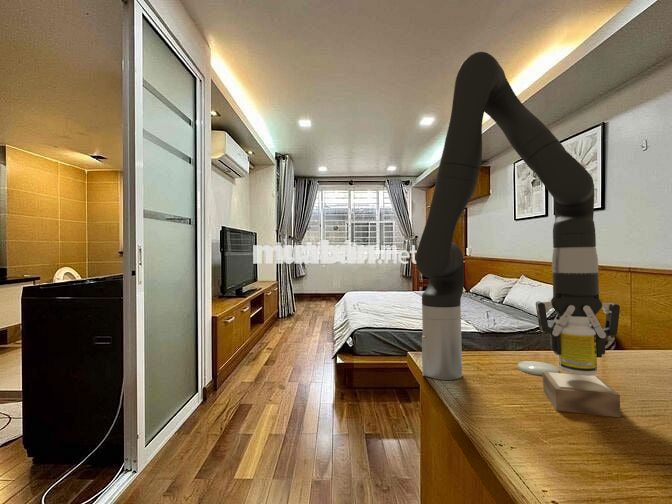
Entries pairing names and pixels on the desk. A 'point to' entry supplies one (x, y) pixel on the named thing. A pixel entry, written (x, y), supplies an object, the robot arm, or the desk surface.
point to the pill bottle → (578, 347)
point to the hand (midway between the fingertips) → (577, 354)
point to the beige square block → (581, 394)
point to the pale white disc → (537, 367)
